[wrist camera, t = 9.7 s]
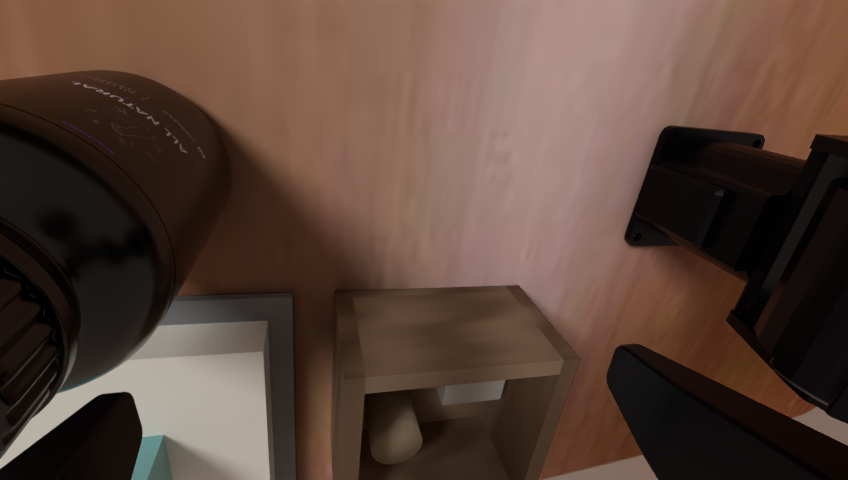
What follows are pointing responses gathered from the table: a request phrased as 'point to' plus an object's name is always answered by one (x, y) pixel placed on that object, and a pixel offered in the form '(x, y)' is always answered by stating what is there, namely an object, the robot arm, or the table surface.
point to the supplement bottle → (94, 225)
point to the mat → (280, 354)
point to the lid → (187, 403)
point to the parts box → (445, 384)
